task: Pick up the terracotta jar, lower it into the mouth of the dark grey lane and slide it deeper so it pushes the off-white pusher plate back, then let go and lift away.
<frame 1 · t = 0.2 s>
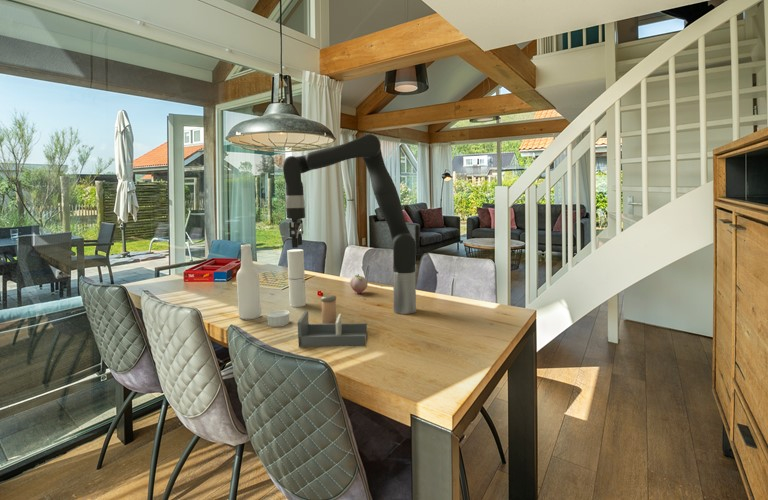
hand: (297, 246, 165), 29 cm above the table, tool pointing down, fingers open, 8 cm apart
ramekin: (278, 324, 156), on the table
jar: (329, 323, 155), on the table
cylindrical container: (297, 305, 181), on the table
decorative fruit: (359, 293, 200), on the table
alcohol: (250, 317, 164), on the table
pusher: (338, 327, 137), point 4 cm above the table, slide at 0.0 cm
lane: (334, 339, 138), on the table
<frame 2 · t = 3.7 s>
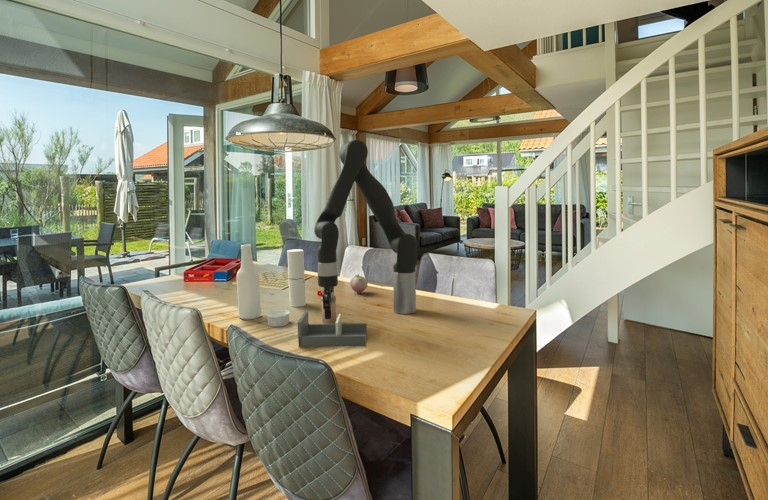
hand: (329, 316, 154), 3 cm above the table, tool pointing down, fingers closed on jar, 5 cm apart
jar: (329, 323, 155), on the table, touching gripper
everything else where it was.
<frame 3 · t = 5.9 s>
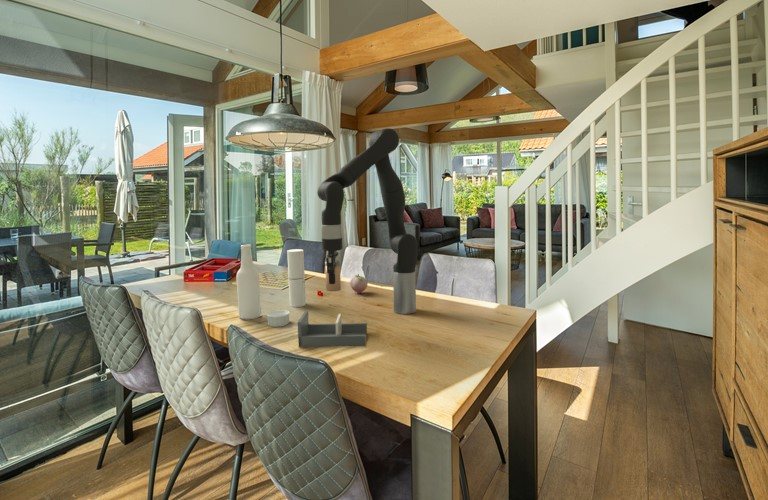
hand: (333, 281, 148), 17 cm above the table, tool pointing down, fingers closed on jar, 5 cm apart
jar: (333, 289, 149), point 14 cm above the table, touching gripper
everything else where it was.
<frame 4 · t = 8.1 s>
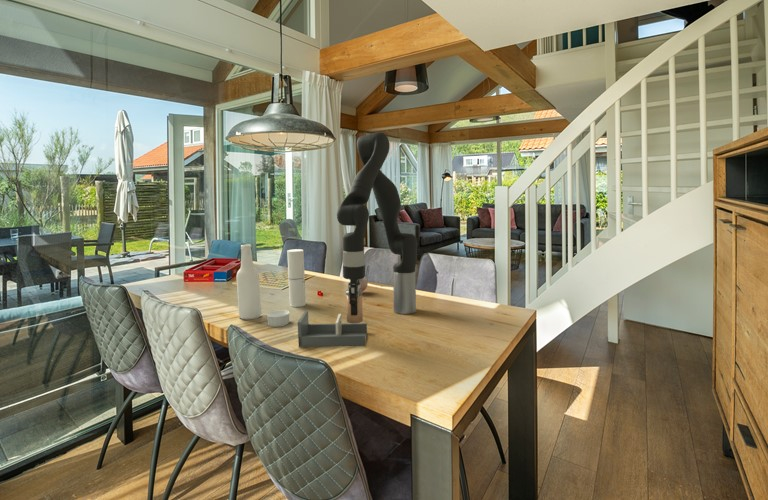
hand: (354, 312, 136), 10 cm above the table, tool pointing down, fingers closed on jar, 5 cm apart
jar: (354, 320, 137), point 7 cm above the table, touching gripper
everything else where it was.
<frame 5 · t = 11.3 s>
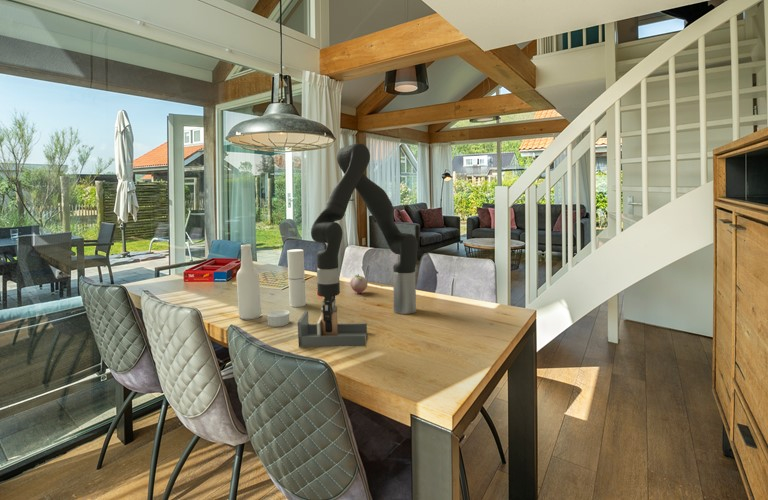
hand: (330, 328, 137), 4 cm above the table, tool pointing down, fingers closed on jar, 5 cm apart
jar: (330, 336, 138), point 1 cm above the table, touching gripper, pusher
pusher: (320, 328, 137), point 4 cm above the table, slide at 6.1 cm, touching jar
everything else where it was.
when the fingers open (4 cm above the table, at t = 12.4 s): jar stays where it is, resting on lane.
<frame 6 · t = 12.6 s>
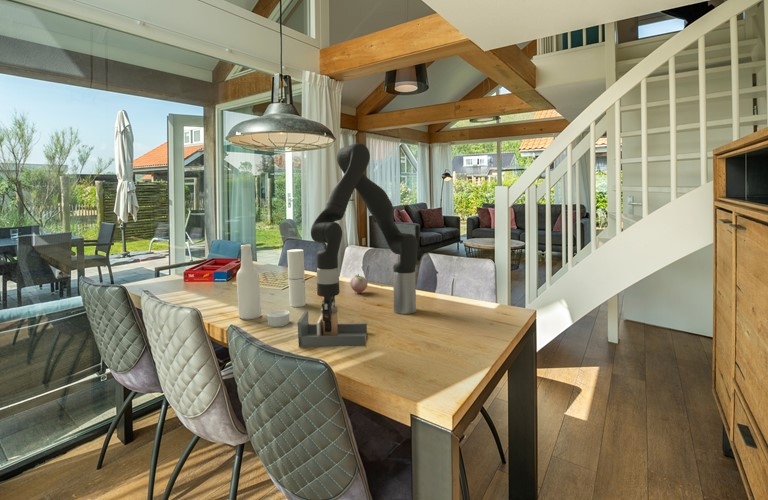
hand: (329, 327, 137), 4 cm above the table, tool pointing down, fingers open, 6 cm apart
jar: (330, 337, 138), point 1 cm above the table, touching lane
pusher: (320, 328, 137), point 4 cm above the table, slide at 6.2 cm
everything else where it was.
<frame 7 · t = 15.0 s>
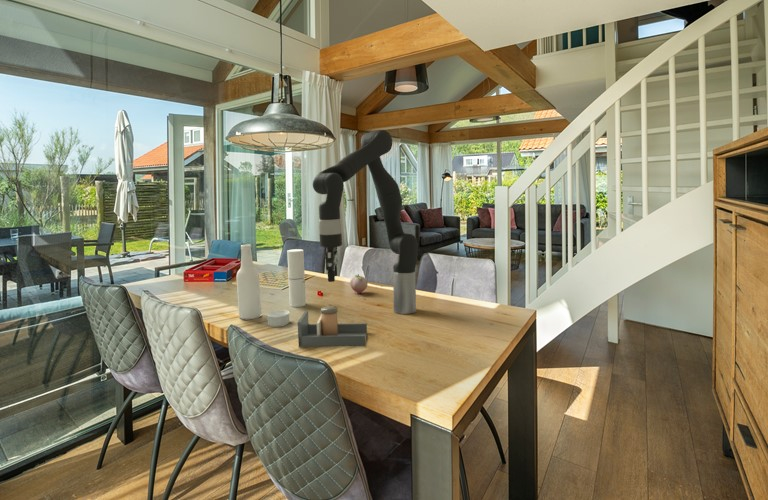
hand: (332, 278, 138), 21 cm above the table, tool pointing down, fingers open, 8 cm apart
nothing on the table moved.
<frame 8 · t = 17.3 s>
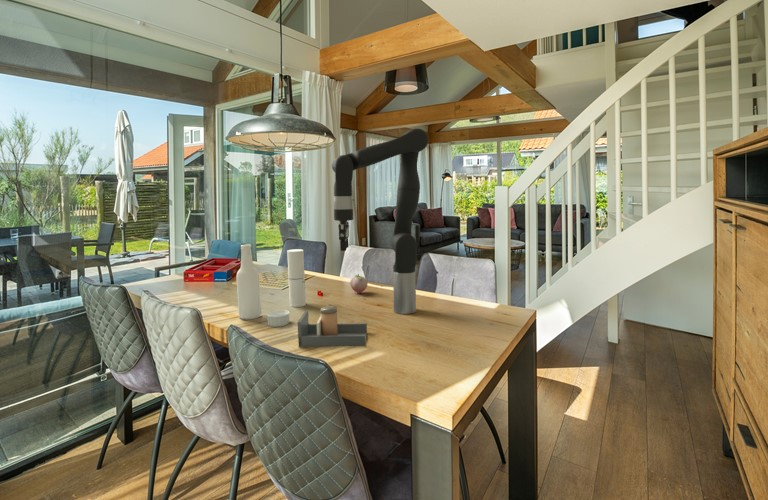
hand: (344, 249, 157), 28 cm above the table, tool pointing down, fingers open, 8 cm apart
nothing on the table moved.
at the end: jar inside the target area on the lane (0.6 cm from its centre), point 0.5 cm above the lane's base; pusher slide at 6.3 cm; jar tilted 1° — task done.
